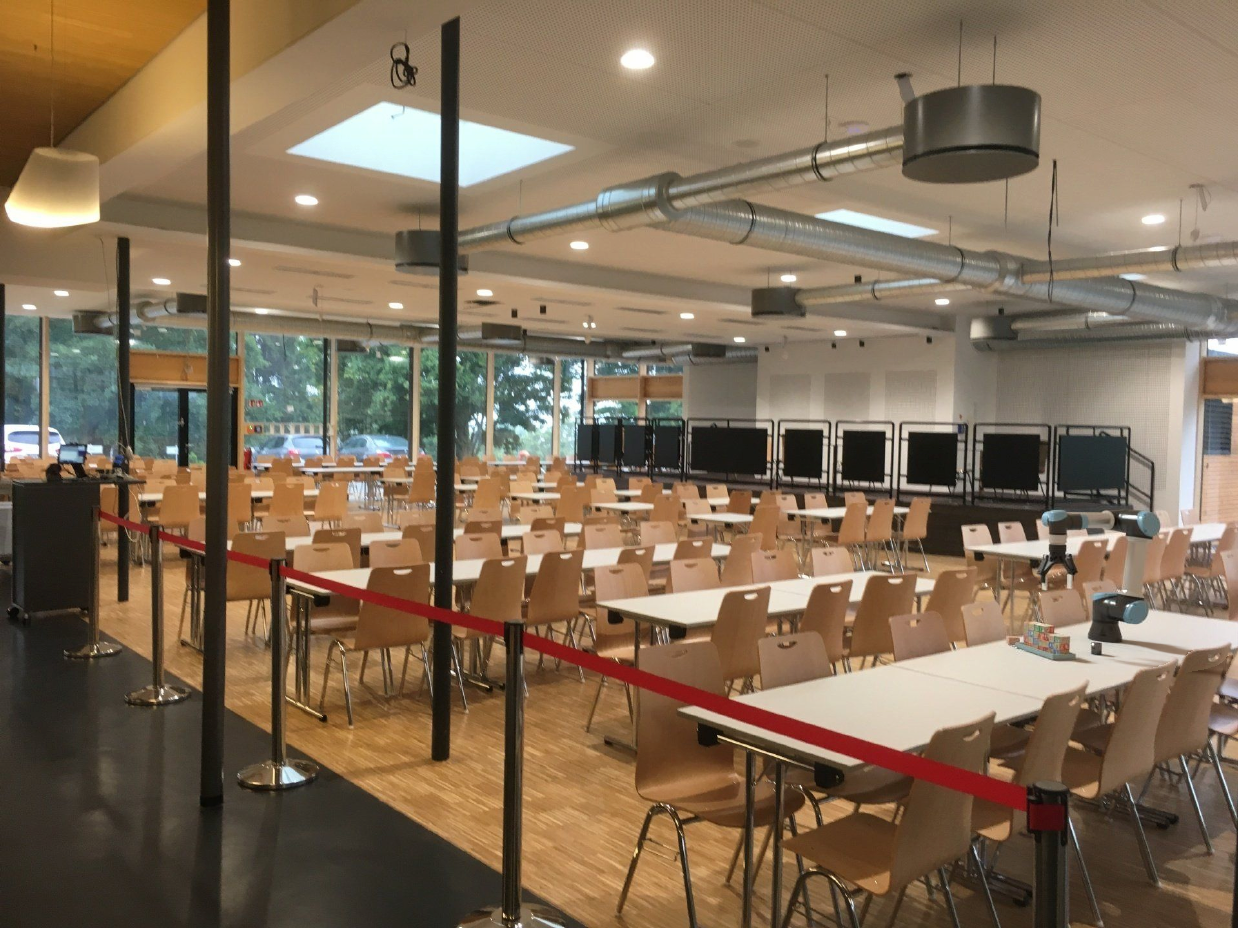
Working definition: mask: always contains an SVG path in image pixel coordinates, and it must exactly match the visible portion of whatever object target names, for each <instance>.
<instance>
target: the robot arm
mask: <svg viewBox="0 0 1238 928" xmlns="http://www.w3.org/2000/svg"><path fill="white" fill-rule="evenodd" d="M1041 522H1042V525H1043V526H1044V527H1048V543H1049V544H1048V552H1049V554H1047V553H1046V554H1042V560H1041V562H1040V564H1039V566H1038V569H1037V571H1036V574H1037V575H1039V576H1040V582H1041V590H1043V591H1048V576H1047V575H1048V573H1049V572H1050V570H1051V569H1052V567H1054V565H1060V564H1061V565H1062V566H1063V567H1064V569H1065V570H1066V572H1067V575H1066V576H1067V578H1066V579H1067V580H1066V582H1067V583H1066V586H1067V587H1066V588H1067V589H1068V590H1073V589H1074V588H1073V582H1074V581H1075V579H1074V578H1075V576H1076V574H1078V573H1079V571H1078V568H1077V566H1076V564H1075V562H1074V559H1073V554H1072V553H1069V552H1067V548H1068V546H1067V542H1068V540H1067V538H1068V535H1067V531H1081V530H1083V531H1084V530H1086V529H1102V530H1104V531H1113V532H1119V533H1121V534H1122V533H1123V534H1125V538H1126V540H1127V541H1128V542H1127V547H1126V548H1127V549H1126V555H1125V562H1124V570H1123V577H1122V585H1121V589H1120V590H1119V591H1118V592H1095V593H1094V594H1093V598H1092V617H1091V621H1092V622H1091V624H1090V628H1089V631H1088V633H1087V639H1089V640H1092V641H1096V642H1104V643H1105V642H1107V643H1120V642H1122V641H1123V635H1122V632H1121V629H1120V626H1119V624H1120V623H1119V622H1121V623H1126V624H1130V625H1140V624H1141V623H1143V622H1144V621H1145V620H1146V619H1147V617H1148V615H1149V612H1150V611H1149V606H1148V603H1146V602H1145V598H1146V597H1145V596H1144V595H1143V593H1142V592H1143V586H1144V579H1145V578H1144V577H1145V571H1146V570H1145V569H1146V563H1147V557H1148V549H1149V543H1151V542H1153V539H1154V537H1156V536H1157V535H1158V534H1159V533H1160V530H1161V522H1160V519H1159V517H1158V515H1157V514H1156V513H1154V512H1151V511H1148V510H1139V509H1138V510H1137V509H1127V508H1126V509H1123V508H1122V509H1114V510H1111V509H1110V510H1103V511H1102V512H1092V511H1090V512H1089V511H1085V512H1083V511H1082V512H1081V511H1078V512H1077V511H1072V512H1071V511H1067V510H1063V509H1052V510H1050V511H1045V512H1044V513H1043V514H1042V516H1041ZM1066 552H1067V553H1066Z"/></svg>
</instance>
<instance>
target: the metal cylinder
mask: <svg viewBox="0 0 1238 928" xmlns="http://www.w3.org/2000/svg"><path fill="white" fill-rule="evenodd" d="M1102 651H1103V644H1102V642H1099V641H1096V642H1095V641H1092V642H1091V643H1090V654H1091V655H1094V656H1102V655H1103V652H1102Z"/></svg>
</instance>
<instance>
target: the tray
mask: <svg viewBox="0 0 1238 928" xmlns="http://www.w3.org/2000/svg"><path fill="white" fill-rule="evenodd" d="M1023 642H1024V641H1020V642H1015V646H1014V648H1015V647H1017V648H1018V649H1017V648H1016V649H1017V650H1020V649H1021V650H1020V651H1023V650H1024V651H1023V652H1026V653H1030V654H1032V655H1036V656H1038V657H1041V658H1045V659H1047V660H1051V661H1073V660H1074V661H1075V660H1076V657H1077V656H1076V655H1077V654H1076V653H1073V652H1071V651H1069V654H1051V653H1048V652H1045V651H1042V650H1039V649H1036V648H1032V647H1029V646H1026V645H1023Z"/></svg>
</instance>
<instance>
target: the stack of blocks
mask: <svg viewBox="0 0 1238 928" xmlns="http://www.w3.org/2000/svg"><path fill="white" fill-rule="evenodd" d="M1022 642H1023V645H1026V646H1029V647H1032V648H1036V649H1039V650H1042V651H1045V652H1048V653H1051V654H1069V652H1070V648H1071V647H1070V646H1071V644H1070V643H1071V636H1070V635H1067V634H1061V633H1057V632H1055V625H1052V624H1048V623H1047V624H1046V623H1043V622H1039V621H1024V622H1023V641H1022Z"/></svg>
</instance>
